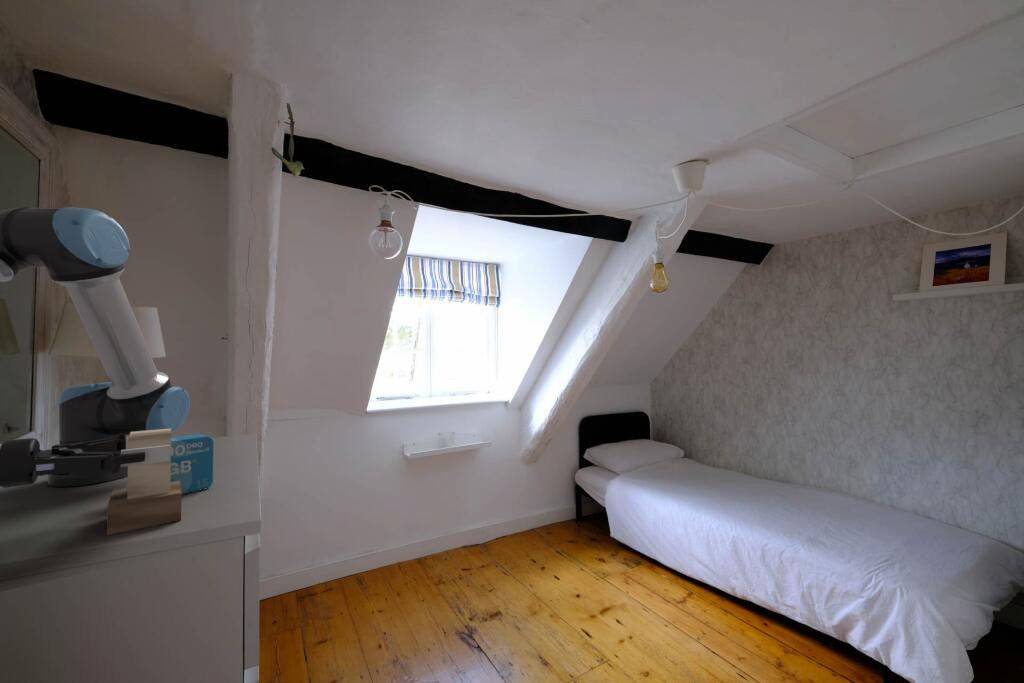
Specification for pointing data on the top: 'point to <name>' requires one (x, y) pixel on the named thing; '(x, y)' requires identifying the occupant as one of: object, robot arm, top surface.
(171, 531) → the top surface
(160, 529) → the top surface
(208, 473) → the data package
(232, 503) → the top surface
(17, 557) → the top surface
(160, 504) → the block
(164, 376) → the robot arm
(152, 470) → the birch block
